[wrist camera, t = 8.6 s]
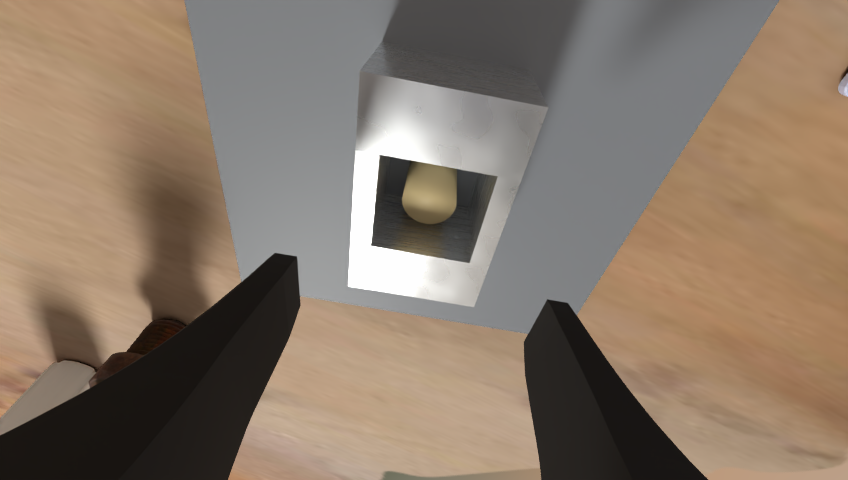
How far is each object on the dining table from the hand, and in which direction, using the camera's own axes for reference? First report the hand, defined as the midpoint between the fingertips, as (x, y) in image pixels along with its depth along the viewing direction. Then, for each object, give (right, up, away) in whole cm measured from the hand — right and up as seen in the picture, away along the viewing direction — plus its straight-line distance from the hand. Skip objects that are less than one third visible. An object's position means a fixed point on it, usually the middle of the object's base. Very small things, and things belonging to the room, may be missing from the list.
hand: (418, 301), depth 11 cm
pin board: (+1, +6, +7) cm, 9 cm away
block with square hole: (+1, +5, +6) cm, 8 cm away
